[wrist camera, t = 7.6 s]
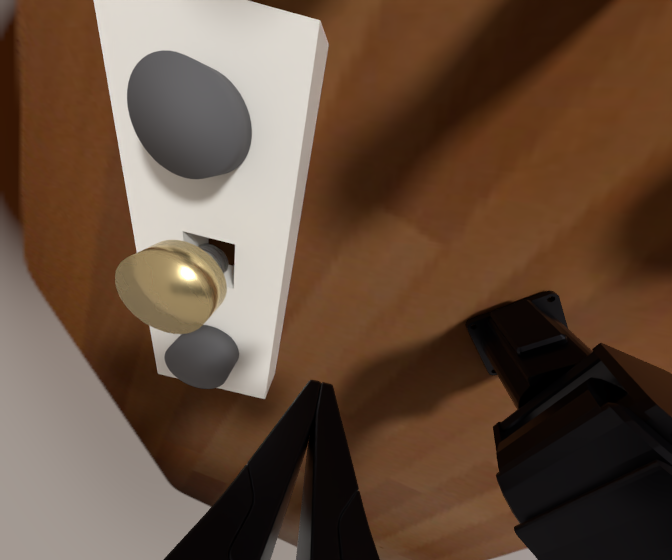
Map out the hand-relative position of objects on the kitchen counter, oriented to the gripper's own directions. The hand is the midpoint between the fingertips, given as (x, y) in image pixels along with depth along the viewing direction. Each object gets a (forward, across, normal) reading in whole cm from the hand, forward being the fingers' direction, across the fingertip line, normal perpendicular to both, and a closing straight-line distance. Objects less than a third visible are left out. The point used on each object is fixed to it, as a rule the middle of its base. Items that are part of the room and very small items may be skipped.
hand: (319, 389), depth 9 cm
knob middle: (+8, +9, +1) cm, 12 cm away
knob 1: (+11, +9, -7) cm, 16 cm away
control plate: (+11, +9, +1) cm, 14 cm away
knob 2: (+11, +9, +9) cm, 17 cm away
